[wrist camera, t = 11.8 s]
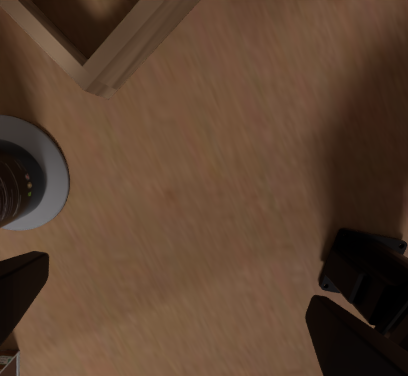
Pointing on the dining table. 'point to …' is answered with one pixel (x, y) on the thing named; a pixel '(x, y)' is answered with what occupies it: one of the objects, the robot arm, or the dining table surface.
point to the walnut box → (111, 48)
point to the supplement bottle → (18, 182)
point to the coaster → (50, 165)
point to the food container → (10, 363)
